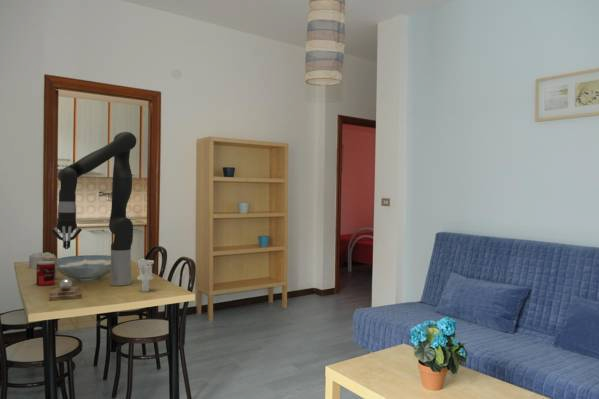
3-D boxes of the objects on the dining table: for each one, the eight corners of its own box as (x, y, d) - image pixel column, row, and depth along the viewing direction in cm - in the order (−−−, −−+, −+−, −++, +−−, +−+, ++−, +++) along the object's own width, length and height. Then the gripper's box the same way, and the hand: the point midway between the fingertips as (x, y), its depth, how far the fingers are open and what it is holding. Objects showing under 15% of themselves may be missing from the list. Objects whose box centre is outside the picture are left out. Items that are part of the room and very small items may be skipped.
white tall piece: (134, 291, 213) (134, 258, 213) (146, 288, 219) (147, 257, 219) (143, 293, 209) (144, 260, 209) (156, 290, 215) (156, 258, 215)
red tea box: (59, 279, 237) (59, 256, 237) (43, 281, 231) (43, 257, 231) (54, 278, 241) (55, 255, 241) (38, 279, 235) (39, 256, 235)
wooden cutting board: (80, 289, 215) (80, 286, 214) (81, 298, 197) (81, 294, 197) (51, 291, 209) (51, 288, 209) (49, 300, 191) (49, 297, 191)
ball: (72, 288, 209) (72, 277, 209) (72, 290, 204) (72, 279, 204) (59, 289, 207) (59, 278, 207) (59, 291, 202) (59, 280, 202)
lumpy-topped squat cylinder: (28, 267, 274) (28, 252, 273) (52, 265, 282) (52, 251, 282) (32, 269, 266) (32, 254, 266) (57, 267, 275) (57, 252, 275)
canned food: (40, 283, 227) (41, 260, 227) (57, 283, 228) (57, 261, 228) (33, 286, 220) (33, 263, 220) (50, 286, 221) (50, 263, 220)
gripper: (82, 211, 219) (82, 247, 219) (51, 211, 213) (50, 248, 213) (83, 211, 212) (82, 249, 212) (50, 211, 206) (49, 250, 206)
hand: (66, 248), depth 213 cm, fingers closed
